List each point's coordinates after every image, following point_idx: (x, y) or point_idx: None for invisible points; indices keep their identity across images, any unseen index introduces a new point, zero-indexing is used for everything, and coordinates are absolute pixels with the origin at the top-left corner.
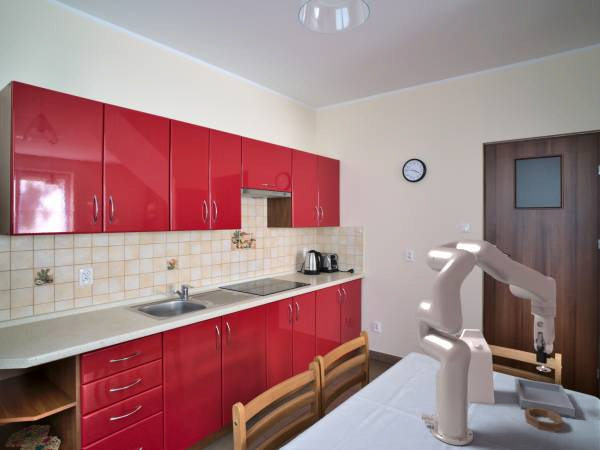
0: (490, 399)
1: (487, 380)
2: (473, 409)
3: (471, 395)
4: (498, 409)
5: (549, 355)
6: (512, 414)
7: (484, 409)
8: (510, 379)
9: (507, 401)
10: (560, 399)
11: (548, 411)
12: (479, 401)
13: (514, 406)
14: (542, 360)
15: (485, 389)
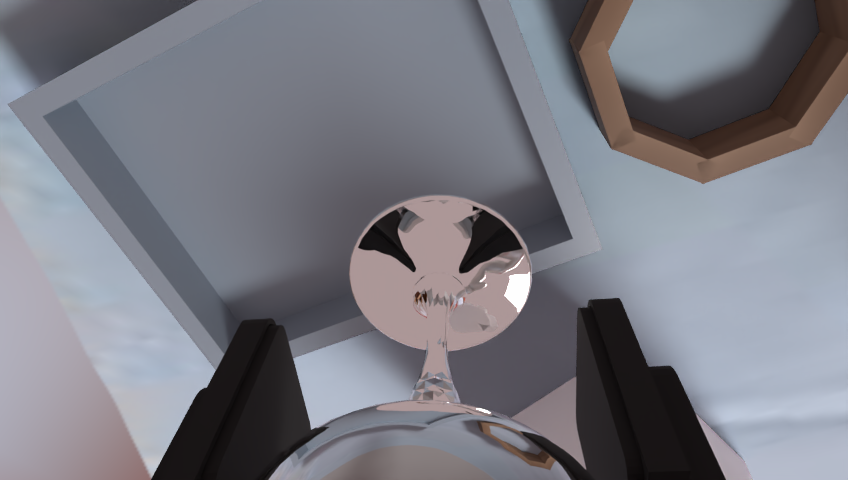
0: None
1: None
2: (800, 394)
3: (725, 464)
4: (697, 304)
5: (267, 365)
6: (713, 225)
7: (756, 356)
8: (163, 386)
9: (528, 303)
10: (212, 51)
11: (612, 41)
12: None
13: None
14: (675, 382)
15: None
